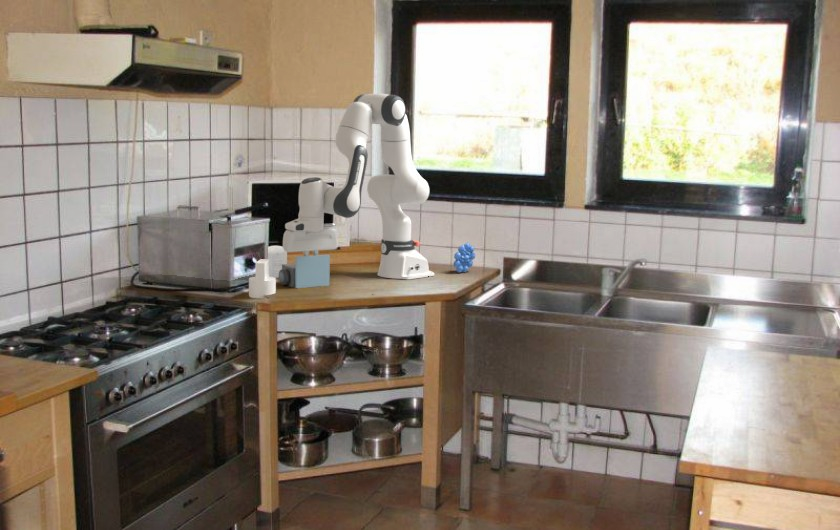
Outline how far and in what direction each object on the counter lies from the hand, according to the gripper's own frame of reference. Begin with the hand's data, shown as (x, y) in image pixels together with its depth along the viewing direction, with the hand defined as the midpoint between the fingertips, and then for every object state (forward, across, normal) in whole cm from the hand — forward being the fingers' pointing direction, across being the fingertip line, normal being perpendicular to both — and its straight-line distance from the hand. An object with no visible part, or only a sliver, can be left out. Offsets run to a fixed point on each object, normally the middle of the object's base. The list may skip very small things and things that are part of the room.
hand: (310, 263), depth 327 cm
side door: (+8, 0, +1) cm, 8 cm away
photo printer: (+10, +3, -24) cm, 26 cm away
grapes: (+10, -71, -7) cm, 72 cm away
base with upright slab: (+10, +20, +4) cm, 22 cm away
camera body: (+9, +1, -4) cm, 10 cm away
